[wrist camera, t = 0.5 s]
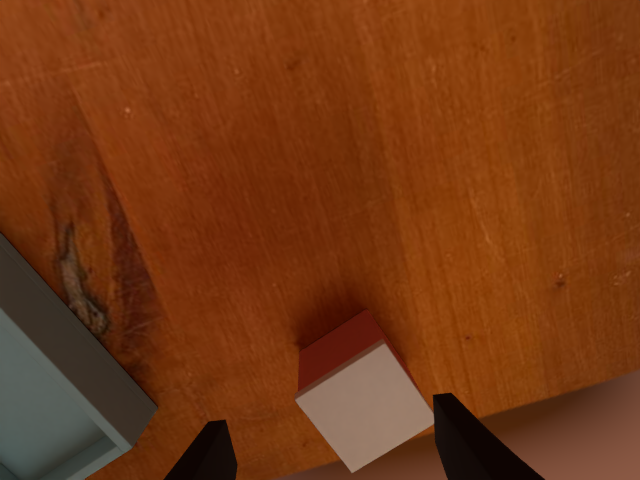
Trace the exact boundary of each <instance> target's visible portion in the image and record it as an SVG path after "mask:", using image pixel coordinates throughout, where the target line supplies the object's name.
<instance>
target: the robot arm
mask: <svg viewBox="0 0 640 480" xmlns="http://www.w3.org/2000/svg"><path fill="white" fill-rule="evenodd" d="M433 407H434V428H435V443H436V446H437V449H438V452H439V455H440V458H441V461H442V464H443V467H444V470H445V473H446V476H447V478H448V480H545V479H544V478H543V477H541V476H540V475H539V474H538V473H536V472H535V471H534V470H533V469H532V468H531V467H529V466H528V465H527V464H526V463H525V462H523V461H522V460H521V459H520V458H519V457H518V456H517V455H515V454H514V453H513V452H512V451H511V450H510V449H509V448H508V447H506V446H505V445H504V444H503V443H502V442H501V441H500V440H499V439H498V438H497V437H496V436H495V435H493V434H492V433H491V432H490V431H489V430H488V429H487V428H486V427H485V426H484V425H483V424H482V423H481V422H480V421H479V420H478V419H477V418H476V417H475V416H474V415H473V414H472V413H471V412H470V411H469V410H468V409H467V408H466V407H465V406H464V405H463V404H462V403H461V402H460V401H459V400H458V399H457V398H456V397H455V396H454V395H453V394H452V393H444V394H436V395H433ZM236 472H237V461H236V457H235V453H234V450H233V446H232V442H231V438H230V434H229V431H228V427H227V423H226V420H218V421H209V422H208V423H207V424H206V425H205V427H204V428H203V429H202V430H201V432H200V433H199V434H198V436H197V437H196V438H195V440H194V441H193V442H192V443H191V445H190V446H189V447H188V449H187V450H186V451H185V453H184V454H183V455H182V457H181V458H180V459H179V460H178V462H177V463H176V464H175V466H174V467H173V468H172V469H171V471H170V472H169V473H168V474H167V476H166V477H165V478H164V479H163V480H235V479H236Z"/></svg>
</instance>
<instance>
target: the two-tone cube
mask: <svg viewBox="0 0 640 480" xmlns="http://www.w3.org/2000/svg"><path fill="white" fill-rule="evenodd" d="M295 401H296V402H297V404H298V405H299V406H300V407H301V409H302V410H303V411H304V413H305V414H306V415H307V416H308V418H309V419H310V420H311V421H312V423H313V424H314V425H315V427H316V428H317V429H318V430H319V432H320V433H321V434H322V435H323V437H324V438H325V439H326V440H327V442H328V443H329V444H330V446H331V447H332V448H333V449H334V451H335V452H336V453H337V454H338V456H339V457H340V458H341V459H342V461H343V462H344V463H345V465H346V466H347V467H348V468H349V470H350V471H351V472H352V473H353V472H355V471H356V470H358V469H360V468H361V467H363V466H364V465H366V464H368V463H370V462H371V461H373V460H375V459H376V458H378V457H380V456H381V455H383V454H385V453H386V452H388V451H390V450H391V449H393V448H395V447H396V446H398V445H400V444H401V443H403V442H405V441H406V440H408V439H410V438H411V437H413V436H415V435H416V434H418V433H420V432H421V431H423V430H425V429H426V428H428V427H430V426H431V425H433V424H434V412H433V410H432V409H431V408H430V406H429V405H428V403H427V402H426V400H425V399H424V397H423V395H422V394H421V392H420V390H419V388H418V386H417V384H416V382H415V381H414V379H413V377H412V375H411V373H410V371H409V369H408V368H407V366H406V365H405V363H404V362H403V360H402V359H401V358H400V356H399V355H398V353H397V352H396V350H395V349H394V347H393V346H392V344H391V343H390V341H389V340H388V339H387V337H386V336H385V334H384V333H383V331H382V330H381V328H380V327H379V325H378V324H377V322H376V321H375V320H374V318H373V317H372V315H371V314H370V312H369V311H368V309H365V310H364V311H362V312H360V313H359V314H357V315H356V316H354V317H353V318H351V319H350V320H348V321H346V322H345V323H343V324H342V325H340V326H339V327H337V328H336V329H334V330H332V331H331V332H329V333H328V334H326V335H325V336H323V337H321V338H320V339H318V340H317V341H315V342H314V343H312V344H311V345H309V346H307V347H306V348H304V349H303V350H301V351H300V352H299V376H298V392H297V393H295Z"/></svg>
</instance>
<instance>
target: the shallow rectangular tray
mask: <svg viewBox="0 0 640 480" xmlns="http://www.w3.org/2000/svg"><path fill="white" fill-rule="evenodd" d="M157 409H158V407H157V406H156V405H155V404H154V403H153V401H152V400H151V399H150V398H149V397H148V396H147V395H146V394H145V393H144V391H143V390H142V389H141V388H140V387H139V386H138V385H137V384H136V383H135V381H134V380H133V379H132V378H131V377H130V376H129V375H128V374H127V373H126V371H125V370H124V369H123V368H122V367H121V366H120V365H119V364H118V363H117V361H116V360H115V359H114V358H113V357H112V356H111V355H110V354H109V353H108V351H107V350H106V349H105V348H104V347H103V346H102V345H101V344H100V343H99V341H98V340H97V339H96V338H95V337H94V336H93V335H92V334H91V333H90V331H89V330H88V329H87V328H86V327H85V326H84V325H83V324H82V323H81V321H80V320H79V319H78V318H77V317H76V316H75V315H74V314H73V313H72V311H71V310H70V309H69V308H68V307H67V306H66V305H65V304H64V303H63V301H62V300H61V299H60V298H59V297H58V296H57V295H56V294H55V293H54V291H53V290H52V289H51V288H50V287H49V286H48V285H47V284H46V283H45V281H44V280H43V279H42V278H41V277H40V276H39V275H38V274H37V273H36V271H35V270H34V269H33V268H32V267H31V266H30V265H29V264H28V263H27V261H26V260H25V259H24V258H23V257H22V256H21V255H20V254H19V253H18V251H17V250H16V249H15V248H14V247H13V246H12V245H11V244H10V243H9V241H8V240H7V239H6V238H5V237H4V236H3V235H2V234H1V233H0V480H83V479H85V478H86V477H88V476H90V475H91V474H93V473H94V472H96V471H97V470H99V469H100V468H102V467H104V466H105V465H107V464H108V463H110V462H111V461H113V460H114V459H116V458H118V457H119V456H121V455H122V454H124V453H125V452H127V451H128V450H130V449H132V448H133V446H134V445H135V443H136V442H137V440H138V438H139V437H140V435H141V434H142V432H143V431H144V429H145V428H146V426H147V425H148V423H149V421H150V420H151V418H152V417H153V415H154V414H155V412H156V411H157Z"/></svg>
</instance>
